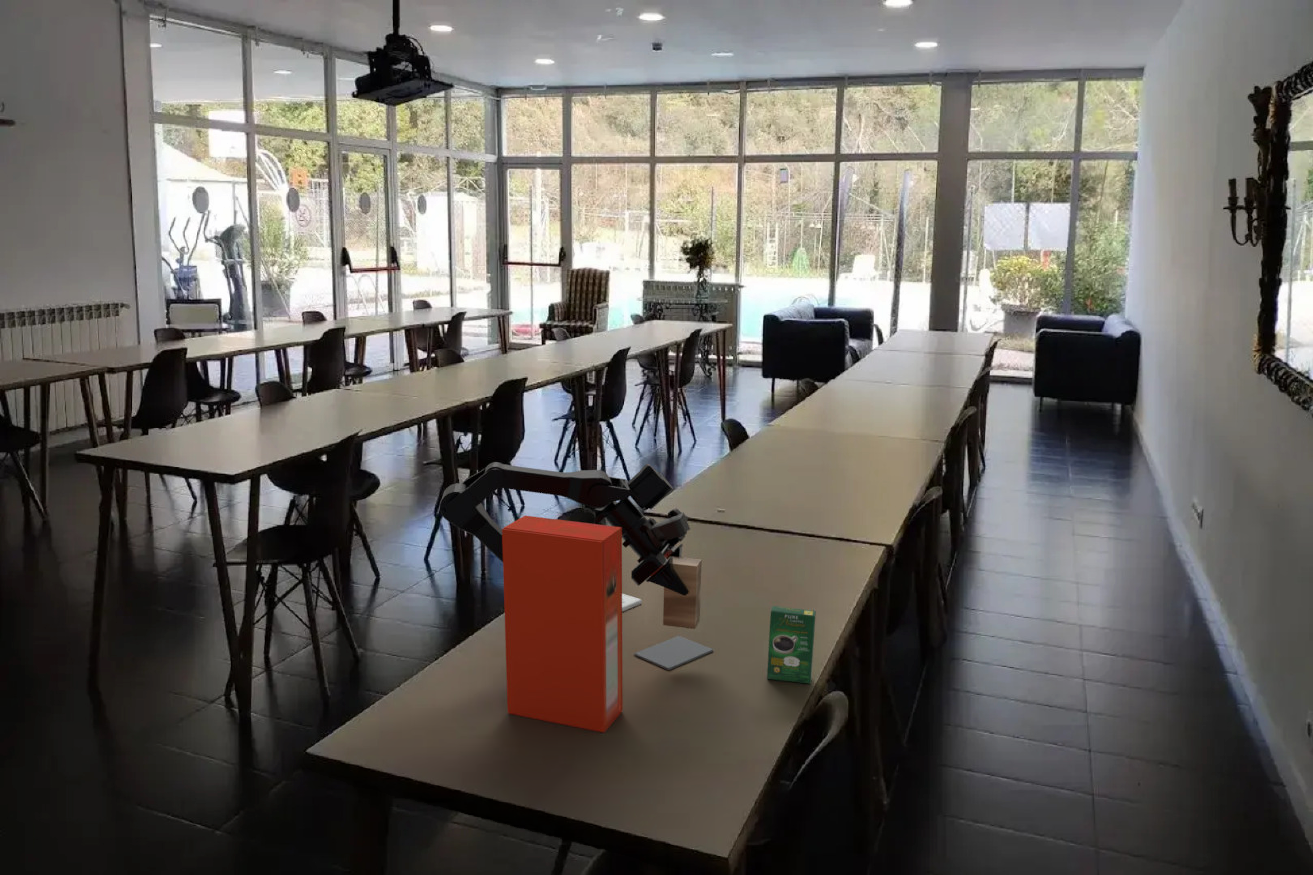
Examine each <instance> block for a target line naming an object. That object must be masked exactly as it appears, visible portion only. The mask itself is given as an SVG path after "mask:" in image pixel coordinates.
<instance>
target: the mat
mask: <svg viewBox="0 0 1313 875" xmlns="http://www.w3.org/2000/svg"><path fill="white" fill-rule="evenodd" d="M713 652H714V649H713V648H711V647H708V646H706V645H703V644H701V643H698V642H696V641H693V640H691V639H689V638H686V637H683V636H681V635H677V636H675V637H672V638H670V639H668V640H665V641H662V642H659V643H657V644H654V645H652V646H649V647H647V648H645V649H642V650H639V651H637V652H635V653H634V654H633V655H634V656H635V657H637V658H639V659H642V660H644V661H647V662H649V663H650V664H654V665H656V666H657V667H660V668H662V669H665V670H667V671H670V670H672V669H675V668H677V667H680V666H682V665H685V664H686V663H689V662H691V661H694V660H697V659H698V658H701V657H703V656H706V655H708V654H710V653H713Z"/></svg>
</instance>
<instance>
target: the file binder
mask: <svg viewBox="0 0 1313 875" xmlns="http://www.w3.org/2000/svg"><path fill="white" fill-rule="evenodd" d="M501 529H502V544H503V562H502V566H503V568H502V570H503V572H502V573H503V597H504V598H503V599H504V600H503V601H504V602H503V604H504V605H503V607H504V636H505V638H504V639H505V664H506V666H505V667H506V671H505V672H506V673H505V674H506V697H507V698H506V699H507V700H506V702H507V713H508V714H509V715H515V716H519V717H524V718H530V719H534V720H538V721H544V722H549V723H555V724H559V725H564V726H569V727H573V728H577V729H583V730H589V731H594V732H599V733H605V732H606V731H607V730H608V728H610V726H611V725H612V724H613V723H614V722H615V720H616V719H618V717H619V716H620V715H621V714H622V711H623V710H624V709H623V708H624V707H623V706H624V705H623V702H624V701H623V696H624V695H623V612H622V594H623V544H622V543H623V538H622V536H623V535H622V528H621V527H614V526H611V525H607V524H606V525H605V524H595V523H590V522H589V523H588V522H581V521H572V520H564V519H558V518H557V519H556V518H549V517H548V518H547V517H540V516H532V515H523V516H522V517H520V518H518V519H516V520H515V521H513V522H511V523H510V524H508V525H506V526H504V527H503V528H501Z"/></svg>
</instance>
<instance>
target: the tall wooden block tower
mask: <svg viewBox="0 0 1313 875" xmlns="http://www.w3.org/2000/svg"><path fill="white" fill-rule="evenodd" d="M671 557H673V556H670V557H669V558H668V559H667V560H669V559H670V558H671ZM702 560H703V559H700V558H691V557H689V558H688V557H682V556H681V557H673V569H674V570H675V572H676V573H677V575H678V576H679V578H680V579H681V580H682V582H683V583H684V585H685V586H686V588H687V589H688V591H689V593H688V594H687V595H685V596H684V595H681V594H679V593H677V592H674V591H672V590H670V589H667V588H665V587H663V613H662V614H663V620H662V626H667V627H674V628H676V627H677V628H685V629H691V630H692V629H693V630H694V629H696V628H697V626H698V624H699V623H700V621H701V620H700V617H701V590H702V589H701V588H702V562H703V561H702Z"/></svg>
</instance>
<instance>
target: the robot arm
mask: <svg viewBox="0 0 1313 875" xmlns="http://www.w3.org/2000/svg"><path fill="white" fill-rule="evenodd" d="M498 489H506V490H514V491H520V492H529V493H537V494H545V495H551V496H559V497H563V498H566V499H569V500H570V501H573V502H575V503H577V504H581V505H584V506H587V507H590V508H594V511H593V512H594V522H593V524H598V525H600V523H601V522H602V521H604V519H605V521H606V522H607V523H608V524H609V526H614V527H621V528H622V547H624V548H625V549H626V548H627V547H630V548H631V550H632V551H633V552H634V553H635V554H636V555H637V556H638V559H637V560H636V561H637V562H638V563H637V564H636V566H635V567H633V569H632V570H631V577H630V579H631V580H632V581H633V582H634V583H635V584H636V585H637V586H638V587H639V586H641V585H642V584H643V583H644V582H647V583H649V582H650V583H652V584H654V585H658V586H661V587H663V588H664V587H665V588H667V589H670V590H672V591H674V592H677V593H679V594H681V595H684V596H685V595H687V594H688V593H689V591H688V589H687V588H686V586H685V585H684V583H683V582H682V580H681V579H680V578H679V576H678V575H677V573H676V572H675V570H674V569H673V557H682V553H683V552H682V551H683V543H680V542H682V541H683V540H684V538H685V537H686V535H687V534H688V531H690V530H691V528H690V525H689V523H688V519H689V516H687V515H686V514H685V513H684V512H681V511H680V510H679V509H678V508H674V509H671V510H669V511H668V513H667V518H664V519H663V520H662V521H658V522H657V521H656V520H655V519H654V518H652V517H649V519H648V518H646V516H644V514H643V513H642V512H641V511H640V510H639V509H638V508H637V506H638V507H639V508H641V510H644V509H645V510H648V509H650V510H653V509H654V508H655V507H656V506H657V505H659V503H660V502H661V501H662V500H664V499H665V498H666V497H668V495H669V494H671V493H672V491H674V488H673V486H672V485H671V483H670V482H669V481H668V480H667V479H666V478H665V476H663V475H662V473H661V472H660V471H657V470H656V469H655V467H653V466H651V464H650V463H645V465H643V466H642V467H641V469H640V471H638V472H637V473H636V474H635V475H634V476H633V477H631V479H629V480H627V479H624V478H619V477H614V476H609V475H608V473H607V472H605V471H604V470H599V469H589V470H588V469H587V470H585V469H584V470H583V469H582V470H576V471H575V470H574V471H570V472H569V471H568V472H562V471H561V472H560V471H555V470H547V469H541V468H540V469H539V468H532V467H526V466H525V467H523V466H518V465H511V464H504V463H501V462H497V461H494V462H493V461H492V462H491V463H489V464H488V465H486V467H484V468H483V469H482V470H479V472H477V473H475V474H473V475H471V476H469V477H467V479H465V480H464V481H462V482H461V483H459V482H457V483H453V484H450V485H449V486H448V487H446V488H445V490H444V491H443V494H442V498H441V500H440V504H439V510H440V511H439V512H440V514H441V516H442V517H443V519H444V520H446V521H447V522H449V523H450V524H451V525H452V526H455V527H456V528H457V529H459V530H461V531H463V532H466V533H468V534H470V535H472V536H473V537H475V538H476V539H477V540H478V541H480V542H481V543H482V544H483V545H484V546H485V547H486V548H487V549H488V550H489V551H490V552H491V553H492V554H494V556H496V558H497V559H499V561H501V563H503V544H502V529H503V528H501V527H500V526H499V524H497V523H496V522H495V520H493V519H492V518H491V517H490V515H489V513H488V512H487V510H486V509H485V507H484V505H483V502H484V501H485V500H486V499H487V498H488V497H490V495H491V494H493V493H494V492H495V491H496V490H498ZM629 497H630V498H631V499H632V500H633V501H634V503H635V504H636V505H637V506H636V505H635V504H634V503H633V502H632V500H630V499H629ZM623 540H624V541H623ZM678 543H680V545H678V546H677V547H676V545H677V544H678ZM670 556H673V557H671V558H670V559H669V560H667V559H668V558H669V557H670Z"/></svg>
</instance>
